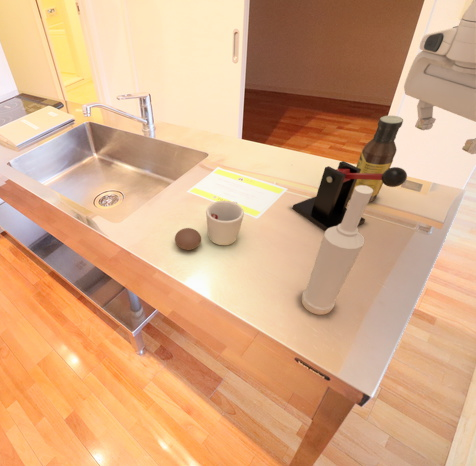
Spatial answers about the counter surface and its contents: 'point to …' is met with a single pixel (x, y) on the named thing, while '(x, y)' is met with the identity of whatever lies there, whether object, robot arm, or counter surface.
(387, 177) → the lever
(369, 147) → the sauce bottle
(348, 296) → the counter surface
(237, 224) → the cup
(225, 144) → the counter surface
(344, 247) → the bottle
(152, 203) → the counter surface
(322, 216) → the press
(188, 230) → the egg
